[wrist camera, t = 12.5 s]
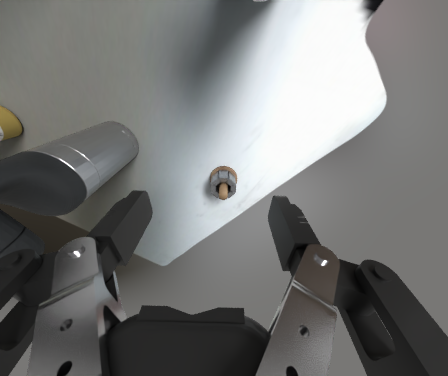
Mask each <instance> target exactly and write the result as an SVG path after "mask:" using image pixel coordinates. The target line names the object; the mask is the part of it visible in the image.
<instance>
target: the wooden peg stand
mask: <svg viewBox="0 0 448 376" xmlns="http://www.w3.org/2000/svg"><path fill="white" fill-rule="evenodd" d="M218 170H228V171H230V172H231V173H233V174H234V175H235V179H236V183H237V175H236V172H235V171H234V170H233V169H232V168H230V167H227V166H220V167H217V168H216V169H214V170H213V171H212V173H211V176H210V182H211V178H212V175H213V174H214V173H215V172H216V171H218ZM227 197H228V183H227V182H220V183H219V198H220V199H221V200H225V199H227Z"/></svg>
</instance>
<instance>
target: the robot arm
mask: <svg viewBox="0 0 448 376" xmlns="http://www.w3.org/2000/svg"><path fill="white" fill-rule="evenodd" d="M138 149H139V148H138V142H137V140H136V138H135V136H134V135H133V133H132V132H131V131H130V130H129V129H128V128H126V127H125V126H123V125H121V124H119V123H116V122H104V123H102V124H99V125H96V126H93V127H90V128H87V129H85V130H82V131H79V132H76V133H74V134H71V135H68V136H65V137H62V138H60V139H57V140H54V141H51V142H49V143H46V144H43V145H41V146H38V147H35V148H32V149H29V150H27V151H24V152H21V153H18V154H16V155H13V156H10V157H8V158H5V159H3V160H0V203H1V204H6V205H10V206H14V207H17V208H20V209H23V210H26V211H29V212H32V213H36V214H40V215H47V216H59V215H64V214H67V213H69V212H71V211H73V210H74V209H75V208H77V207H78V206H79V205H80V204H81V203H82V202H84V201H85V200H86V199H87V198H88V197H89V196H90V195H92V194H93V193H94V192H95V191H96V190H97V189H98V188H100V187H101V186H102V185H103V184H104V183H105V182H107V181H108V180H109V179H110V178H111V177H112V176H114V175H115V174H116V173H117V172H118V171H119V170H121V169H122V168H123V167H124V166H125V165H127V164H128V163H129V162H130V161H131V160H132V159H134V158H135V157H136V155H137V153H138ZM152 213H153V212H152V207H151V203H150V200H149V196H148V193H147V192H146V191H132V192H131V193H130V194H129V195H128V196H127V197H126V198H123V199H122V200H120V201H119V202H117V203H116V204H115V205H114V206H113V207H112V208H111V209H110V211H108V213H107V214H106V215H105V216H104V217H103V218H102V219H101V220H100V222H99V223H98V224H97V225H96V226H95V227H94V228H93V230H92V231H91V232H90V233H89V234H88V235H87V236H86V237H82V238H78V239H75V240H73V241H71V242H69V243H68V244H66V245H65V246H63V247H62V248H61V249H60V250H59V251H57V252H52V253H48V254H43V252H44V248H45V244H44V242H43V240H42V239H41V238H39V237H38V236H37V235H36V234H34V233H33V232H32V231H30V230H29V229H27V228H26V227H25V226H23V225H22V224H21V223H19V222H18V221H16V220H15V219H13V218H12V217H11V216H9V215H8V214H6V213H5V212H3V211H2V210H1V209H0V310H1V309H2V307H3V306H4V305H5V304H6V303H7V302H8V301H9V300H10V299H11V297H14V298H15V299H17V300H18V301H19V302H18V303H17V304H16V305H15V306H14V308H13V309H12V310H11V311H10V312H9V313H8V314H7V316H6V317H5V318H4V319H3V320H2V321H1V322H0V376H8V375H9V374H10V372H11V371H12V370H13V368H14V367H15V365H16V364H17V362H18V361H19V360H20V358H21V357H22V355H23V354H24V352H25V351H26V349H27V348H28V346H29V345H30V344H31V342H32V346H31V352H30V358H29V364H28V371H27V376H328V370H329V363H330V357H331V351H332V345H333V339H334V332H335V325H336V318H337V311H336V309H335V308H333V305H334V306H337V307H338V309H339V312H340V314H341V316H342V318H343V321H344V323H345V325H346V328H347V330H348V332H349V335H350V337H351V339H352V341H353V344H354V346H355V348H356V351H357V353H358V355H359V358H360V360H361V362H362V364H363V367H364V369H365V371H366V374H367V376H448V337H447V335H446V334H445V333H444V332H443V331H442V329H441V328H440V327H439V326H438V324H437V323H436V322H435V321H434V319H433V318H432V317H431V316H430V315H429V313H428V312H427V311H426V310H425V308H424V307H423V306H422V305H421V304H420V303H419V301H418V300H417V299H416V297H415V296H414V295H413V294H412V292H411V291H410V290H409V289H408V288H407V286H406V285H405V284H404V283H403V282H402V280H401V279H400V278H399V276H398V275H397V274H396V273H395V272H393V271H392V270H391V269H390V268H389V267H387V266H385V265H384V264H382V263H379V262H377V261H374V260H364V261H363V262H362V263H361V264H360V265H357V264H353V263H350V262H347V261H343V260H341V259H338V258H337V256H336V255H335V254H334V253H333V252H332V251H331V250H330V249H328V248H327V247H325V246H322V245H321V244H320V242H319V241H318V239H317V237H316V235H315V234H314V232H313V230H312V228H311V227H310V225H309V224H308V221H307V220H306V218H305V216H304V214H303V213H302V211H301V210H300V209H299V208H298V207H297V206H296V205H295V204H290V202H289V200H288V198H287V197H286V196H273V198H272V202H271V206H270V210H269V214H268V222H269V225H270V229H271V232H272V236H273V239H274V243H275V245H276V249H277V252H278V256H279V260H280V263H281V266H282V270H283V271H290V273H291V275H292V277H291V279H290V281H289V284H288V286H287V288H286V291H285V293H284V296H283V298H282V300H281V303H280V305H279V307H278V310H277V312H276V314H275V316H274V319H273V320H272V322H271V325H270V327H269V329H268V331H267V330H266V329H265V328H264V327H263V326H261V325H260V324H259V323H258V322H256V321H255V320H253V319H251V318H249V317H246V316H244V308H216V309H212V310H209V311H205V312H202V313H198V314H194V315H190V314H187V313H184V312H182V311H179V310H176V309H174V308H171V307H168V306H142V307H141V310H140V312H139V314H137V315H134V316H132V317H129V318H128V319H127V318H126V315H125V312H124V310H123V308H122V304H121V299H120V294H119V289H118V284H117V279H116V274H115V271H114V270H115V268H116V267H117V265H124V266H126V265H127V263H128V261H129V259H130V257H131V256H132V254H133V252H134V250H135V248H136V246H137V244H138V243H139V241H140V239H141V237H142V235H143V233H144V231H145V229H146V228H147V226H148V224H149V222H150V220H151V218H152ZM42 254H43V255H42ZM376 312H377V313H376ZM377 314H378V315H379V317H380V318H379V317H378V315H377ZM380 319H381V320H382V322H383V323H382V322H381V320H380ZM383 324H384V325H383ZM384 326H385V327H386V328H385V327H384ZM386 329H387V330H388V332H389V333H388V332H387V330H386ZM389 334H390V335H389ZM390 336H391V337H392V339H393V340H392V339H391V337H390Z"/></svg>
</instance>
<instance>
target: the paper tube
mask: <svg viewBox="0 0 448 376" xmlns="http://www.w3.org/2000/svg"><path fill="white" fill-rule="evenodd" d="M21 132H22V125H21V123H20V121H19V120H18V118H17V117H16V116H15V115H14V114H13V113H12V112H10V111H9V110H8V109H6V108H4V107H2V106H0V141H2V140H6V139H9V138H13V137H17V136H19V135H20V134H21Z"/></svg>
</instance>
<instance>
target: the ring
mask: <svg viewBox="0 0 448 376" xmlns="http://www.w3.org/2000/svg"><path fill="white" fill-rule="evenodd" d="M220 182H227V183H228V198H230V197H231V196H232V195H234V194H235V193H236V179H235V175H234V174H233V173H231V172H230V171H228V170H218V171H216V172H215V173H214V174H213V175H212V178H211V193H212V194H213V195H214V196H215V197H217V198H218V197H219V183H220ZM219 199H220V198H219Z"/></svg>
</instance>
